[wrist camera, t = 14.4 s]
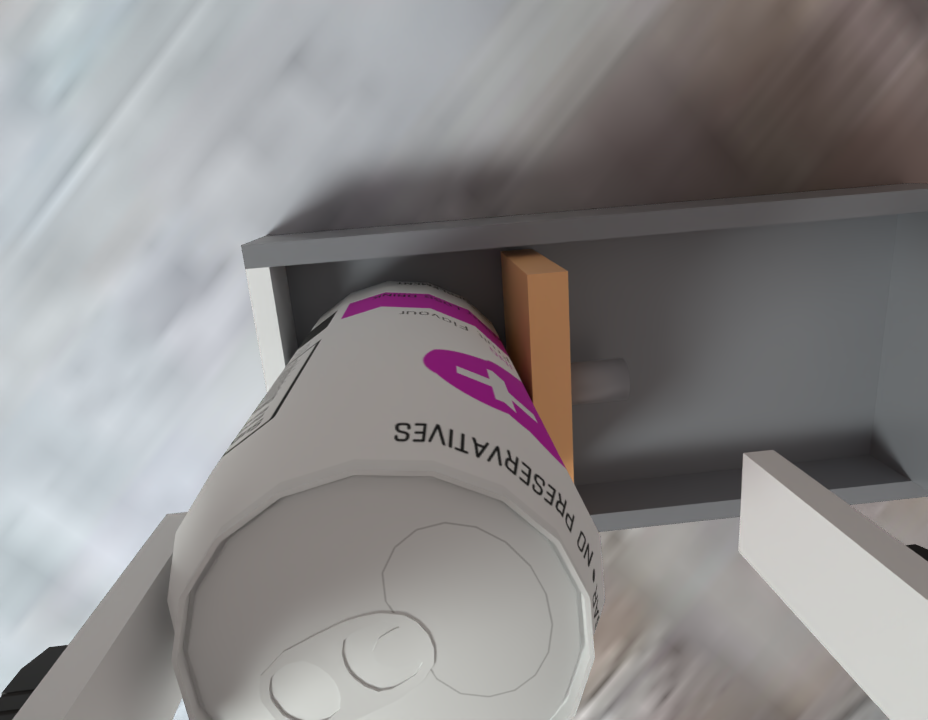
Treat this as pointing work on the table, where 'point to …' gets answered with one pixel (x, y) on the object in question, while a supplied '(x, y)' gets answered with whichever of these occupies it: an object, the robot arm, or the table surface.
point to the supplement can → (389, 535)
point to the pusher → (552, 347)
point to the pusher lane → (683, 333)
